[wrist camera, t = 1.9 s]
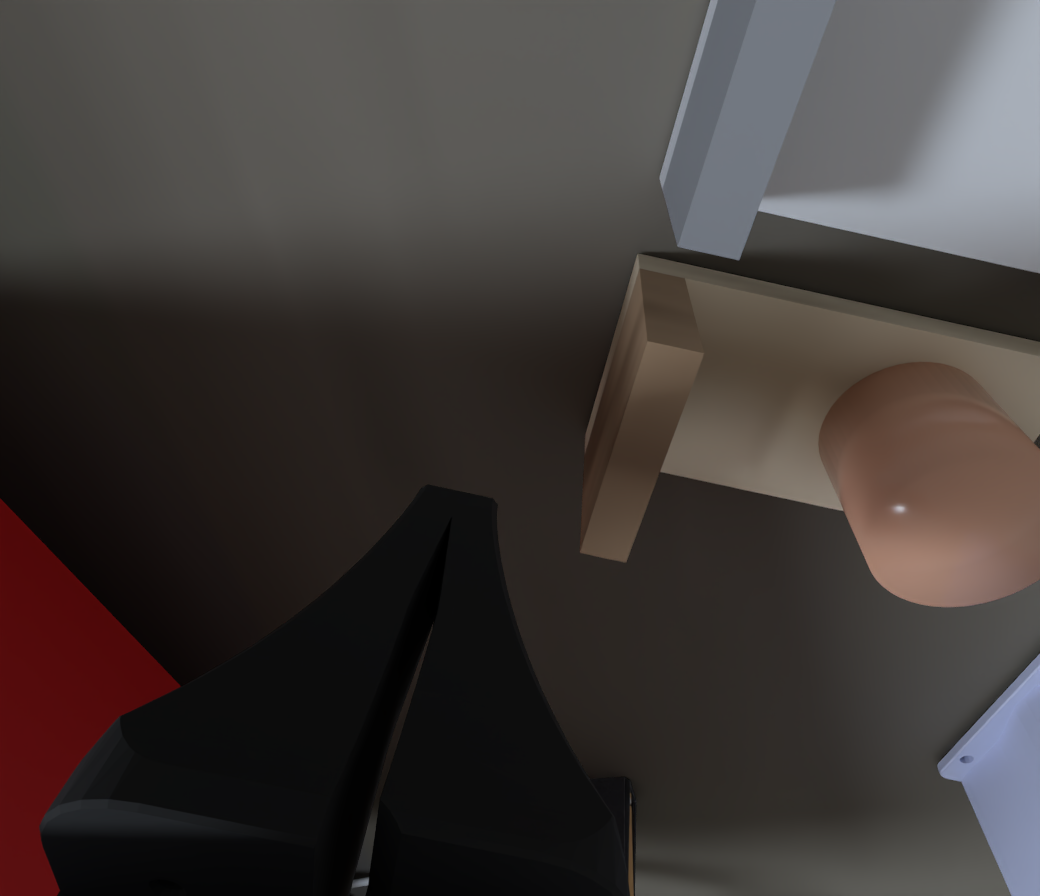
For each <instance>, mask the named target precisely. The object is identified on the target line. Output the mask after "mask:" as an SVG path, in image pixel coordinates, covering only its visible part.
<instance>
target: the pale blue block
mask: <svg viewBox="0 0 1040 896" xmlns="http://www.w3.org/2000/svg"><path fill="white" fill-rule="evenodd" d="M659 178H660V182H661V186H662V190H663V194H664V197H665V201H666V205H667V209H668V212H669V216H670V220H671V224H672V228H673V231H674V235H675V239H676V243H677V246H678V247H681V248H685V249H690V250H694V251H699V252H703V253H708V254H712V255H717V256H721V257H726V258H730V259H735V260H739V259H740V257H741V254H742V251H743V249H744V246H745V243H746V241H747V238H748V235H749V233H750V230H751V227H752V225H753V222H754V219H755V217H756V214H757V211H761V212H766V213H770V214H775V215H779V216H784V217H788V218H793V219H797V220H802V221H806V222H811V223H815V224H820V225H824V226H829V227H833V228H838V229H842V230H847V231H851V232H856V233H860V234H865V235H869V236H874V237H878V238H883V239H887V240H892V241H896V242H901V243H905V244H910V245H914V246H919V247H923V248H928V249H932V250H937V251H941V252H946V253H950V254H955V255H959V256H964V257H968V258H973V259H977V260H982V261H986V262H991V263H995V264H1000V265H1004V266H1009V267H1013V268H1018V269H1022V270H1027V271H1031V272H1036V273H1040V0H710V4H709V7H708V11H707V14H706V18H705V21H704V25H703V28H702V32H701V35H700V39H699V42H698V46H697V49H696V52H695V56H694V59H693V63H692V66H691V70H690V73H689V77H688V80H687V84H686V87H685V91H684V94H683V98H682V101H681V105H680V108H679V111H678V115H677V118H676V122H675V125H674V129H673V132H672V136H671V139H670V143H669V146H668V150H667V153H666V157H665V160H664V163H663V167H662V170H661V174H660V177H659Z"/></svg>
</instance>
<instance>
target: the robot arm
mask: <svg viewBox="0 0 1040 896" xmlns="http://www.w3.org/2000/svg"><path fill="white" fill-rule="evenodd" d="M497 506H498V505H497V503H496V502H495V501H494V499H493V498H488V497H484V496H479V495H474V494H470V493H465V492H460V491H455V490H451V489H446V488H441V487H437V486H432V485H426V486H424V487H422V488H421V489H420V491H419V492H418V494H417V495H416V497H415V498H414V500H413V501H412V502H411V504H410V505H409V506H408V508H407V509H406V510H405V511H404V513H403V514H402V515H401V516H400V518H399V519H398V520H397V521H396V522H395V523H394V525H393V526H392V527H391V528H390V529H389V530H388V531H387V532H386V534H385V535H384V536H383V537H382V538H381V539H380V540H379V541H378V542H377V543H376V544H375V545H374V546H373V547H372V548H371V550H370V551H369V552H368V553H367V554H366V555H365V556H364V557H363V558H362V559H361V560H359V561H358V562H357V563H356V564H355V565H354V566H353V567H352V568H351V569H350V570H349V571H348V572H347V573H346V574H345V575H343V576H342V577H341V578H340V579H339V580H338V581H337V582H336V583H335V584H334V585H332V586H331V587H330V588H329V589H328V590H327V591H325V592H324V593H323V594H322V595H321V596H319V597H318V598H317V599H316V600H315V601H313V602H312V603H311V604H309V605H308V606H307V607H306V608H304V609H303V610H302V611H300V612H299V613H298V614H297V615H295V616H294V617H293V618H291V619H290V620H288V621H287V622H286V623H284V624H283V625H281V626H280V627H278V628H277V629H276V630H274V631H273V632H271V633H270V634H268V635H267V636H266V637H264V638H263V639H261V640H260V641H258V642H257V643H255V644H254V645H252V646H250V647H249V648H247V649H246V650H244V651H243V652H241V653H239V654H237V655H236V656H234V657H232V658H231V659H229V660H227V661H225V662H224V663H222V664H220V665H219V666H217V667H215V668H213V669H212V670H210V671H208V672H207V673H205V674H203V675H201V676H200V677H198V678H196V679H194V680H193V681H191V682H189V683H187V684H185V685H183V686H181V687H179V688H177V689H175V690H173V691H171V692H169V693H167V694H165V695H163V696H161V697H159V698H157V699H155V700H153V701H151V702H149V703H147V704H144V705H142V706H140V707H138V708H136V709H134V710H132V711H130V712H128V713H126V714H124V715H121V716H119V717H118V718H117V719H116V720H115V722H114V723H113V724H112V725H111V726H110V727H109V728H108V729H107V731H106V732H105V733H104V734H103V735H102V736H101V737H100V739H99V740H98V741H97V742H96V744H95V745H94V746H93V747H92V748H91V749H90V751H89V752H88V753H87V754H86V755H85V756H84V758H83V759H82V760H81V761H80V763H79V764H78V766H77V767H76V769H75V770H74V771H73V773H72V774H71V776H70V777H69V779H68V780H67V782H66V783H65V785H64V786H63V788H62V789H61V791H60V792H59V794H58V795H57V797H56V798H55V800H54V801H53V803H52V804H51V806H50V807H49V809H48V810H47V812H46V814H45V815H44V817H43V819H42V821H41V823H40V825H39V829H40V837H41V842H42V846H43V849H44V851H45V854H46V856H47V859H48V862H49V864H50V867H51V869H52V872H53V874H54V877H55V879H56V882H57V884H58V887H59V889H60V891H59V893H58V895H57V896H349V895H350V891H351V887H352V884H353V880H354V876H355V872H356V868H357V864H358V860H359V856H360V852H361V849H362V845H363V841H364V837H365V833H366V830H367V826H368V822H369V818H370V814H371V810H372V807H373V803H374V799H375V795H376V792H377V788H378V784H379V780H380V777H381V773H382V769H383V765H384V762H385V758H386V754H387V750H388V747H389V744H390V741H391V737H392V734H393V731H394V728H395V725H396V722H397V720H398V717H399V714H400V711H401V709H402V706H403V703H404V701H405V698H406V695H407V692H408V690H409V687H410V684H411V681H412V679H413V676H414V673H415V671H416V668H417V665H418V662H419V660H420V657H421V654H422V652H423V649H424V646H425V643H426V641H427V638H428V635H429V632H430V630H431V627H432V624H433V621H434V624H433V630H432V633H431V637H430V640H429V644H428V647H427V651H426V654H425V657H424V661H423V664H422V667H421V671H420V674H419V678H418V681H417V684H416V688H415V691H414V694H413V697H412V701H411V704H410V707H409V710H408V714H407V717H406V720H405V723H404V727H403V730H402V733H401V736H400V739H399V742H398V745H397V749H396V752H395V755H394V758H393V761H392V764H391V767H390V770H389V773H388V776H387V779H386V782H385V785H384V788H383V791H382V794H381V797H380V802H379V810H378V817H377V824H376V831H375V839H374V846H373V853H372V860H371V868H370V875H369V882H368V889H367V892H366V896H630V890H629V882H628V875H627V868H626V863H625V858H624V853H623V848H622V844H621V839H620V835H619V831H618V827H617V824H616V820H615V817H614V815H613V814H612V812H611V811H610V809H609V808H608V806H607V805H606V803H605V802H604V800H603V799H602V797H601V796H600V794H599V793H598V791H597V790H596V788H595V786H594V785H593V783H592V782H591V780H590V779H589V777H588V775H587V774H586V772H585V771H584V769H583V767H582V766H581V764H580V762H579V760H578V759H577V757H576V755H575V753H574V752H573V750H572V748H571V746H570V745H569V743H568V741H567V739H566V738H565V736H564V734H563V732H562V730H561V728H560V726H559V724H558V722H557V720H556V718H555V716H554V714H553V712H552V710H551V708H550V706H549V704H548V702H547V700H546V698H545V696H544V694H543V691H542V689H541V687H540V684H539V682H538V680H537V677H536V675H535V673H534V670H533V668H532V665H531V663H530V660H529V658H528V655H527V652H526V650H525V647H524V644H523V641H522V639H521V636H520V633H519V629H518V626H517V623H516V620H515V616H514V613H513V610H512V606H511V603H510V599H509V595H508V591H507V587H506V582H505V577H504V572H503V568H502V563H501V557H500V551H499V543H498V534H497ZM937 767H938V770H939V772H940V775H941V776H942V777H944V778H947V779H950V780H955V781H960V782H962V785H963V787H964V789H965V791H966V794H967V796H968V798H969V800H970V803H971V805H972V807H973V809H974V812H975V814H976V816H977V818H978V821H979V823H980V825H981V828H982V830H983V832H984V834H985V837H986V839H987V841H988V843H989V846H990V848H991V850H992V852H993V855H994V857H995V859H996V861H997V864H998V866H999V868H1000V871H1001V873H1002V875H1003V877H1004V880H1005V882H1006V884H1007V886H1008V889H1009V891H1010V893H1011V895H1012V896H1040V654H1039V655H1038V656H1037V657H1036V658H1035V659H1034V660H1033V661H1032V662H1031V663H1030V664H1029V666H1028V667H1027V668H1026V669H1025V670H1024V671H1023V672H1022V673H1021V674H1020V675H1019V676H1018V677H1017V679H1016V680H1015V681H1014V682H1013V683H1012V684H1011V685H1010V686H1009V687H1008V688H1007V689H1006V690H1005V691H1004V693H1003V694H1002V695H1001V696H1000V697H999V698H998V699H997V700H996V701H995V702H994V703H993V704H992V706H991V707H990V708H989V709H988V710H987V711H986V712H985V713H984V714H983V715H982V716H981V717H980V719H979V720H978V721H977V722H976V723H975V724H974V725H973V726H972V727H971V728H970V729H969V730H968V732H967V733H966V734H965V735H964V736H963V737H962V738H961V739H960V740H959V741H958V742H957V743H956V745H955V746H954V747H953V748H952V749H951V750H950V751H949V752H948V753H947V754H946V755H945V756H944V758H943V759H942V760H941V761H940V762H939V763H938V765H937Z"/></svg>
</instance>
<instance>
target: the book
mask: <svg viewBox="0 0 1040 896" xmlns="http://www.w3.org/2000/svg"><path fill="white" fill-rule="evenodd" d="M179 687H181V686H180V685H179V684H178V683H177V682H176V681H175V680H174V679H173V678H172V676H171V675H170V674H169V673H168V672H167V671H166V670H165V669H164V668H163V667H162V666H161V665H160V664H159V663H158V662H157V661H156V660H155V659H154V658H153V657H152V656H151V655H150V654H149V653H148V652H147V650H146V649H145V648H144V647H143V646H142V645H141V644H140V643H139V642H138V641H137V640H136V639H135V638H134V637H133V636H132V635H131V634H130V633H129V632H128V631H127V630H126V629H125V628H124V627H123V625H122V624H121V623H120V622H119V621H118V620H117V619H116V618H115V617H114V616H113V615H112V614H111V613H110V612H109V611H108V610H107V609H106V608H105V607H104V606H103V605H102V604H101V603H100V602H99V601H98V599H97V598H96V597H95V596H94V595H93V594H92V593H91V592H90V591H89V590H88V589H87V588H86V587H85V586H84V585H83V584H82V583H81V582H80V581H79V580H78V579H77V578H76V577H75V576H74V575H73V573H72V572H71V571H70V570H69V569H68V568H67V567H66V566H65V565H64V564H63V563H62V562H61V561H60V560H59V559H58V558H57V557H56V556H55V555H54V554H53V553H52V552H51V551H50V550H49V549H48V547H47V546H46V545H45V544H44V543H43V542H42V541H41V540H40V539H39V538H38V537H37V536H36V535H35V534H34V533H33V532H32V531H31V530H30V529H29V528H28V527H27V526H26V525H25V524H24V522H23V521H22V520H21V519H20V518H19V517H18V516H17V515H16V514H15V513H14V512H13V511H12V510H11V509H10V508H9V507H8V506H7V505H6V504H5V503H4V502H3V501H2V500H1V499H0V896H57V895H58V893H59V891H60V889H59V887H58V884H57V882H56V879H55V877H54V874H53V872H52V869H51V867H50V864H49V862H48V859H47V856H46V854H45V851H44V849H43V846H42V842H41V837H40V829H39V825H40V823H41V821H42V819H43V817H44V815H45V814H46V812H47V810H48V809H49V807H50V806H51V804H52V803H53V801H54V800H55V798H56V797H57V795H58V794H59V792H60V791H61V789H62V788H63V786H64V785H65V783H66V782H67V780H68V779H69V777H70V776H71V774H72V773H73V771H74V770H75V769H76V767H77V766H78V764H79V763H80V761H81V760H82V759H83V758H84V756H85V755H86V754H87V753H88V752H89V751H90V749H91V748H92V747H93V746H94V745H95V744H96V742H97V741H98V740H99V739H100V737H101V736H102V735H103V734H104V733H105V732H106V731H107V729H108V728H109V727H110V726H111V725H112V724H113V723H114V722H115V720H116V719H117V718H118V717H119V716H121V715H124V714H126V713H128V712H130V711H132V710H134V709H136V708H138V707H140V706H142V705H144V704H147V703H149V702H151V701H153V700H155V699H157V698H159V697H161V696H163V695H165V694H167V693H169V692H171V691H173V690H175V689H177V688H179Z"/></svg>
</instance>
